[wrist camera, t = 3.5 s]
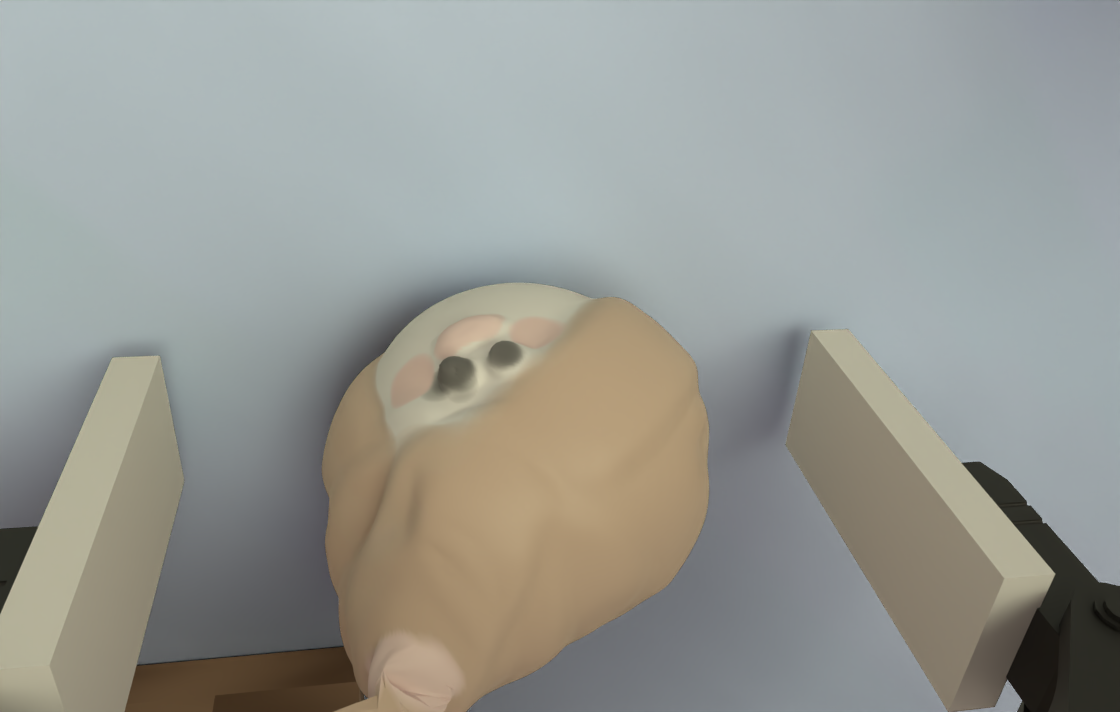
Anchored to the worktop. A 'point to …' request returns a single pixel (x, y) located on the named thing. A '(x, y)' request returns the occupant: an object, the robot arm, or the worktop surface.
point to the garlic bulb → (507, 489)
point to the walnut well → (248, 684)
